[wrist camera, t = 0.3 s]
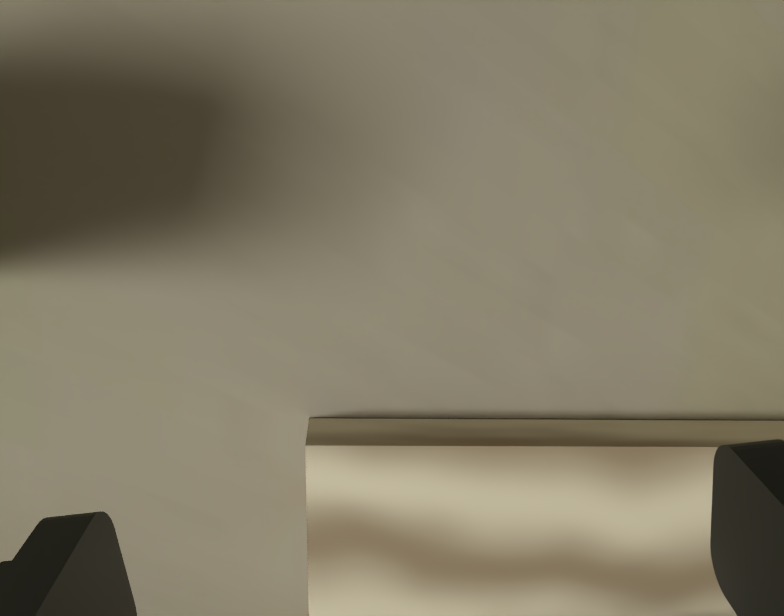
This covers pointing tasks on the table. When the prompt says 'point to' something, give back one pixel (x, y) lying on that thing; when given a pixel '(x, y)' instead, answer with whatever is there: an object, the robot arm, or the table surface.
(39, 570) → the robot arm
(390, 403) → the table surface
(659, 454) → the base
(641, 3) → the table surface
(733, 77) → the table surface
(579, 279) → the table surface
